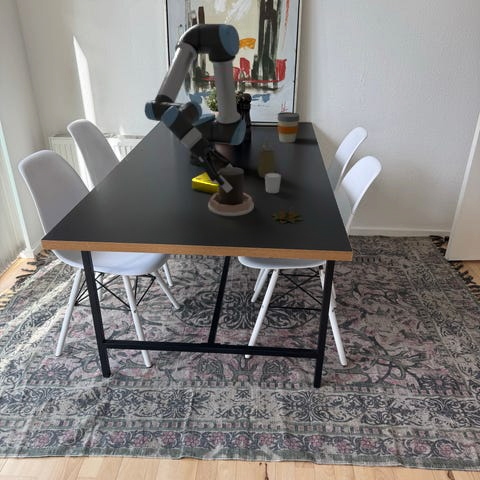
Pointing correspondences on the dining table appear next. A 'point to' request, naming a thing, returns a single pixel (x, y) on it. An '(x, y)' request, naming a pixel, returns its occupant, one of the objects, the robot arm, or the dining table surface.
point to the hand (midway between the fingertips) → (234, 184)
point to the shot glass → (272, 182)
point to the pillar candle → (236, 181)
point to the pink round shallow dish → (231, 206)
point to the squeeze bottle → (266, 159)
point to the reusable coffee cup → (287, 126)
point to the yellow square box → (205, 184)
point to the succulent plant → (286, 214)
